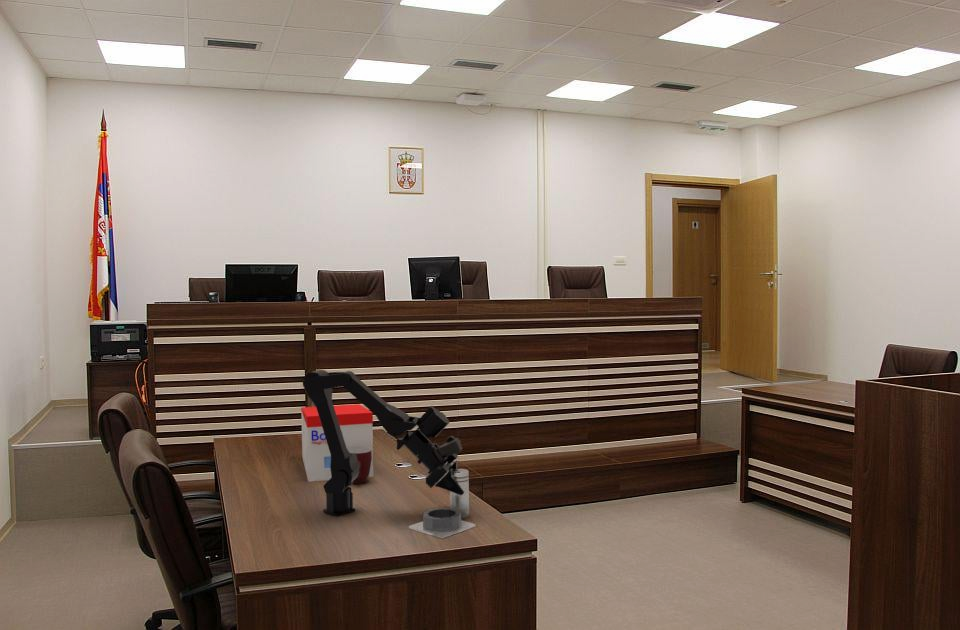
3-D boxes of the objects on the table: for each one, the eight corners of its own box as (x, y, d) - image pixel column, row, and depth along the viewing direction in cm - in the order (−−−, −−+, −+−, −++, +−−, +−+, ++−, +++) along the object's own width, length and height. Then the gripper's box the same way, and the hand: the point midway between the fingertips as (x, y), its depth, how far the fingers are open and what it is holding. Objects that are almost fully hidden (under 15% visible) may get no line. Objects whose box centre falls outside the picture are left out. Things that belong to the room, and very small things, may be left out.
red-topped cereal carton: (308, 482, 237) (306, 416, 236) (302, 457, 270) (301, 400, 269) (374, 476, 242) (372, 412, 242) (360, 453, 276) (359, 397, 275)
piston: (459, 519, 197) (459, 474, 197) (446, 515, 201) (445, 471, 200) (473, 515, 201) (472, 470, 200) (459, 511, 204) (458, 467, 204)
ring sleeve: (441, 538, 183) (441, 524, 182) (408, 528, 191) (408, 514, 191) (475, 526, 191) (475, 512, 191) (442, 517, 200) (442, 503, 199)
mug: (374, 486, 230) (373, 454, 230) (347, 488, 228) (347, 456, 228) (370, 477, 241) (370, 447, 240) (345, 479, 239) (344, 448, 238)
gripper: (437, 435, 191) (480, 479, 190) (449, 422, 210) (489, 462, 209) (407, 465, 192) (450, 509, 192) (422, 449, 211) (462, 489, 210)
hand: (464, 491), depth 200 cm, fingers closed on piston, 5 cm apart
